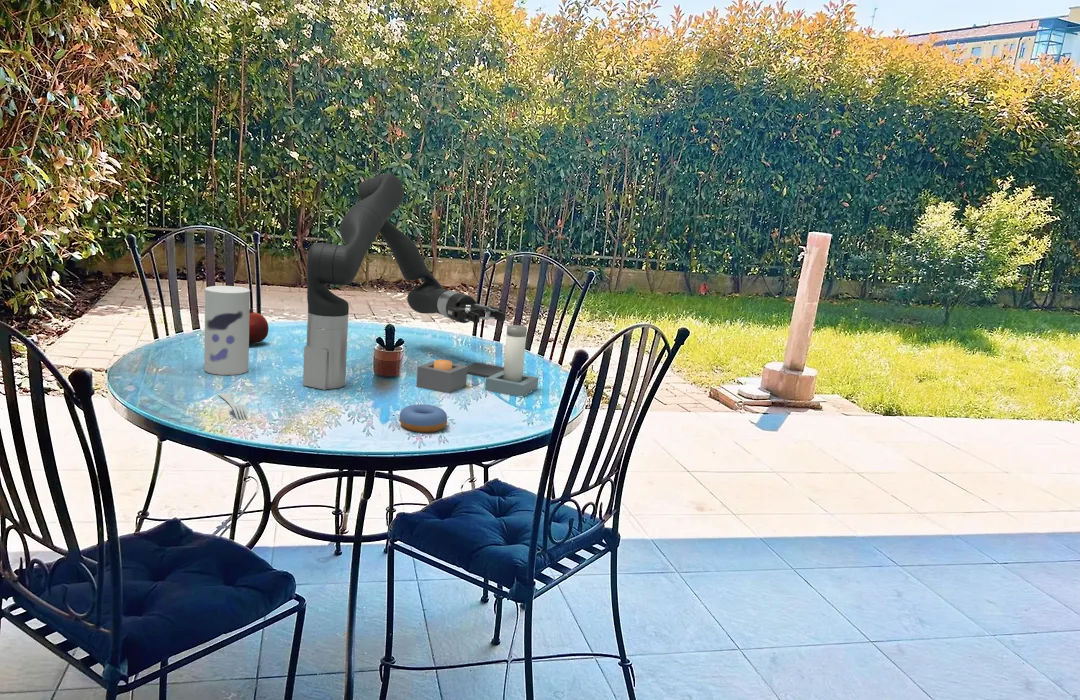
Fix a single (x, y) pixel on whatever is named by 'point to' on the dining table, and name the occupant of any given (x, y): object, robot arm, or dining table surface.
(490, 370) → the mat
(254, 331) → the fruit
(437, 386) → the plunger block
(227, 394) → the fork
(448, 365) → the plunger
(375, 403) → the dining table surface
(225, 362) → the container
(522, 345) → the cylinder
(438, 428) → the doughnut
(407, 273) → the robot arm
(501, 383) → the housing
